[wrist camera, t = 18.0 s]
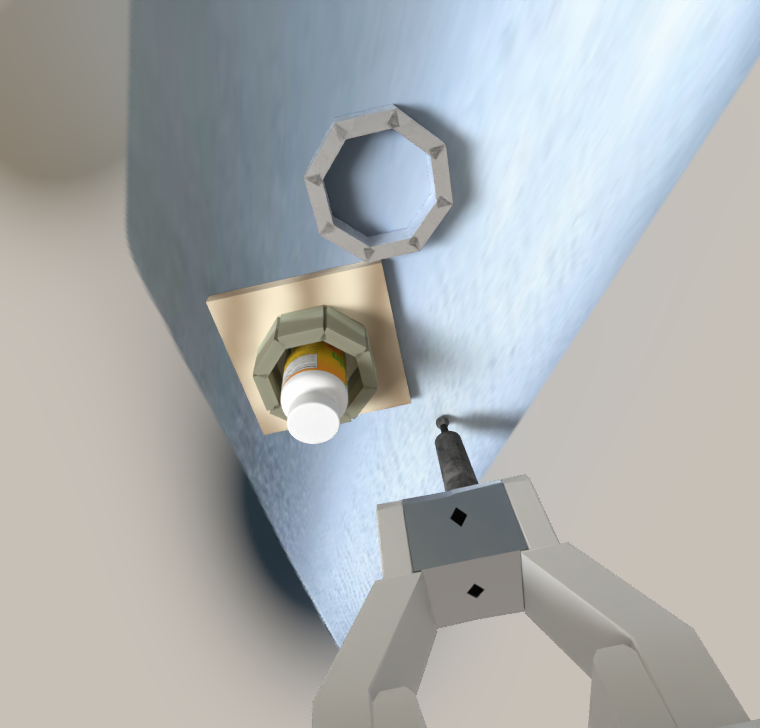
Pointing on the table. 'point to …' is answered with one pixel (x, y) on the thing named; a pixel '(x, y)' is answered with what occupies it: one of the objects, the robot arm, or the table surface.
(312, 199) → the holder ring
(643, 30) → the table surface
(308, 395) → the supplement bottle
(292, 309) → the socket board
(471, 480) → the microphone
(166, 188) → the table surface
